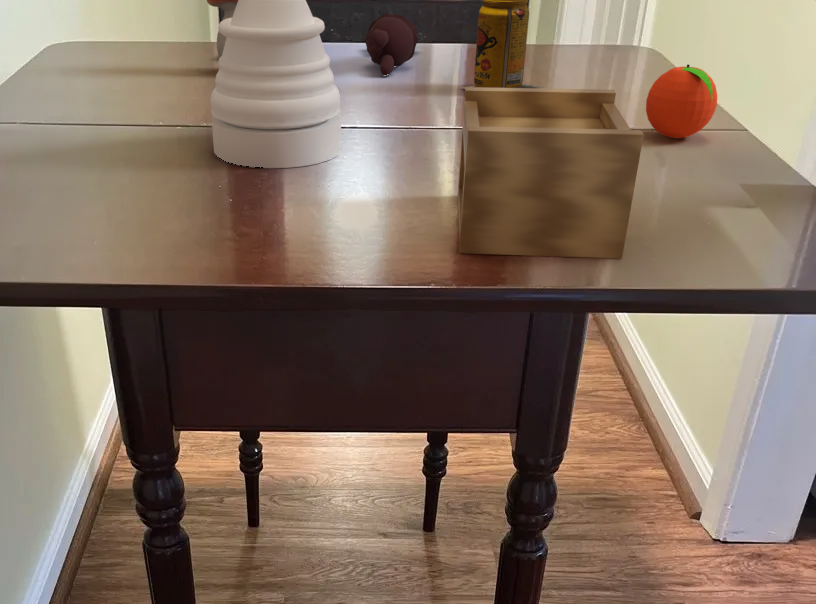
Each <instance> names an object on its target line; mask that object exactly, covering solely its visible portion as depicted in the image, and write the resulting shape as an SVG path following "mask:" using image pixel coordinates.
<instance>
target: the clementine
mask: <svg viewBox="0 0 816 604" xmlns="http://www.w3.org/2000/svg"><path fill="white" fill-rule="evenodd" d="M717 91H718V90H717V85H716V83H715V82H714V80H713V79H712V77H711V76H710V75H709V74H708V73H707V72H706V71H705V70H704V69H702V68H698V67H695V66H690V64H686V66H677V67H672V68H671V69H669V70H667V71H666V72H664V73H663V74H661V75H660V76H659V77H657V79H656V80H655V81H654V82H653V84H652V85H651V87H650V89H649V90H648V94H647V97H646V101H645V112H646V116H647V120H648V122H649V124H650V126H651V127H652V128H653V129H654V130H655V131H656V132H657V133H658V134H661V135H663V136H664V137H666V138H670V139H683V138H688V137H691V136H693V135H695V134H697V133H699V132H700V131H701V130H703V129H704V128H705V127H706V126H707V125H708V123H709V122H710V121H711V120H712V118H713V117H714V115H715V112H716V109H717V107H718V92H717Z"/></svg>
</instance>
